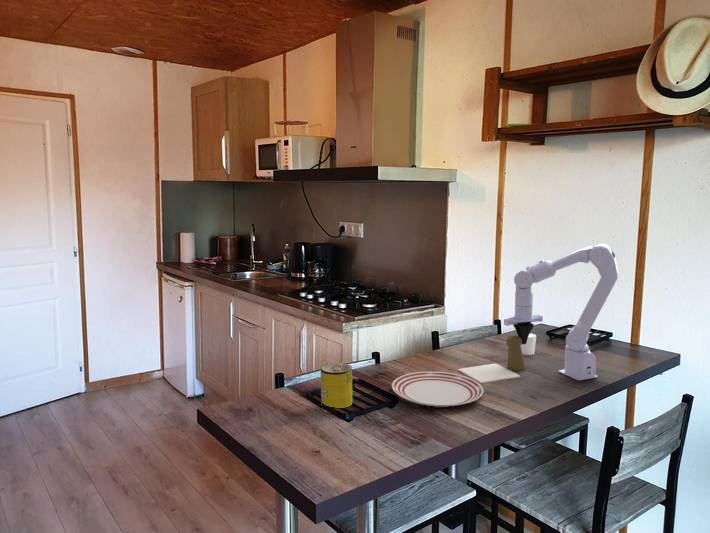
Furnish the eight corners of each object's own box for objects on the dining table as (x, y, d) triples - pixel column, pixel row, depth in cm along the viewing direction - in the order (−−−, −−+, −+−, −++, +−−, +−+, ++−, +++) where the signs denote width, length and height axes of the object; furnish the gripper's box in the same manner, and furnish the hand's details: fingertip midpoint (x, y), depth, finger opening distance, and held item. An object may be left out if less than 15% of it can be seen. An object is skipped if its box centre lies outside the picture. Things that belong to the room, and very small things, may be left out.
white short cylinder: (513, 351, 209) (513, 333, 208) (528, 349, 211) (529, 331, 210) (523, 356, 202) (524, 338, 201) (539, 354, 204) (540, 336, 203)
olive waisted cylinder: (523, 362, 192) (520, 333, 190) (527, 369, 186) (524, 338, 184) (506, 364, 193) (503, 335, 191) (509, 371, 187) (506, 340, 185)
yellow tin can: (346, 399, 165) (345, 361, 163) (357, 410, 156) (356, 370, 155) (317, 404, 162) (316, 365, 160) (327, 416, 153) (326, 374, 151)
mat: (520, 377, 180) (520, 375, 180) (481, 383, 175) (481, 382, 175) (495, 364, 194) (495, 363, 193) (458, 370, 188) (458, 368, 188)
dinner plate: (485, 383, 176) (485, 373, 176) (481, 418, 150) (481, 406, 150) (401, 377, 183) (400, 367, 183) (383, 409, 157) (382, 398, 157)
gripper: (533, 300, 193) (532, 338, 195) (498, 304, 188) (498, 342, 190) (547, 304, 187) (545, 343, 189) (511, 308, 182) (510, 348, 184)
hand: (522, 343), depth 189 cm, fingers closed
